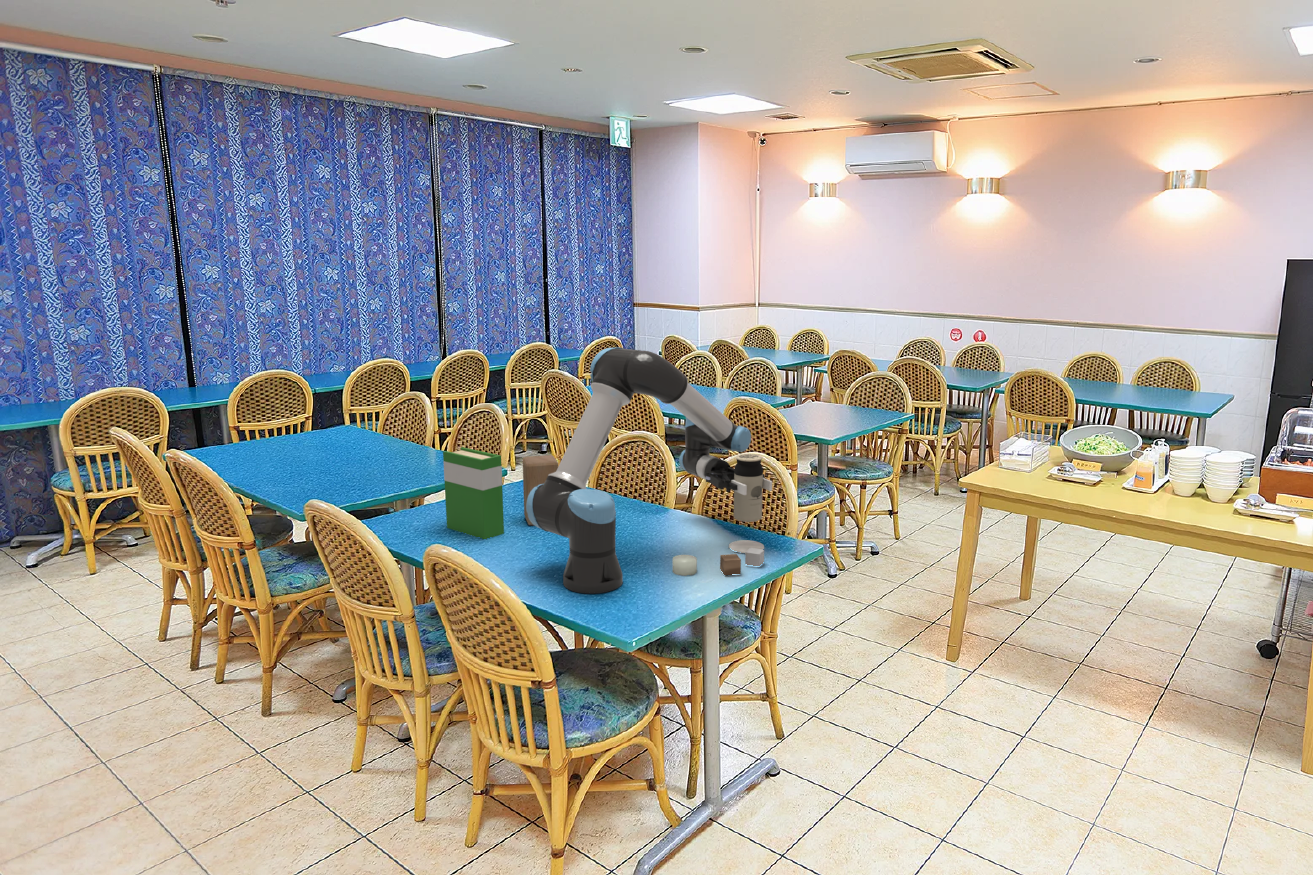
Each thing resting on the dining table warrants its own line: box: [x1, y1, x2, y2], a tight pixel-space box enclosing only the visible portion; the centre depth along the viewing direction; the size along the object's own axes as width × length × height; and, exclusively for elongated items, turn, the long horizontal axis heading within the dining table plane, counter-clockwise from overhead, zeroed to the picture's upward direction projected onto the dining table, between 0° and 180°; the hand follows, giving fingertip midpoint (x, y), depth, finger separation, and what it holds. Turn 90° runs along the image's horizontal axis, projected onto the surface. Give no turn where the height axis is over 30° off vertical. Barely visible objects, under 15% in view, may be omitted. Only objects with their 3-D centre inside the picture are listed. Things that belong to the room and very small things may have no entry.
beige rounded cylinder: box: [672, 554, 698, 577], centre depth 228 cm, size 6×6×4 cm
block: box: [522, 454, 559, 526], centre depth 269 cm, size 10×10×20 cm
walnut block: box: [719, 553, 742, 576], centre depth 227 cm, size 4×4×4 cm
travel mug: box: [733, 453, 764, 523], centre depth 242 cm, size 8×8×18 cm
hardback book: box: [442, 446, 505, 540], centre depth 258 cm, size 18×7×24 cm, turn 51°
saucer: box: [728, 539, 765, 554], centre depth 246 cm, size 10×10×1 cm
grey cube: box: [744, 548, 765, 566], centre depth 232 cm, size 4×4×4 cm
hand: (758, 488), depth 238 cm, fingers closed on travel mug, 8 cm apart
